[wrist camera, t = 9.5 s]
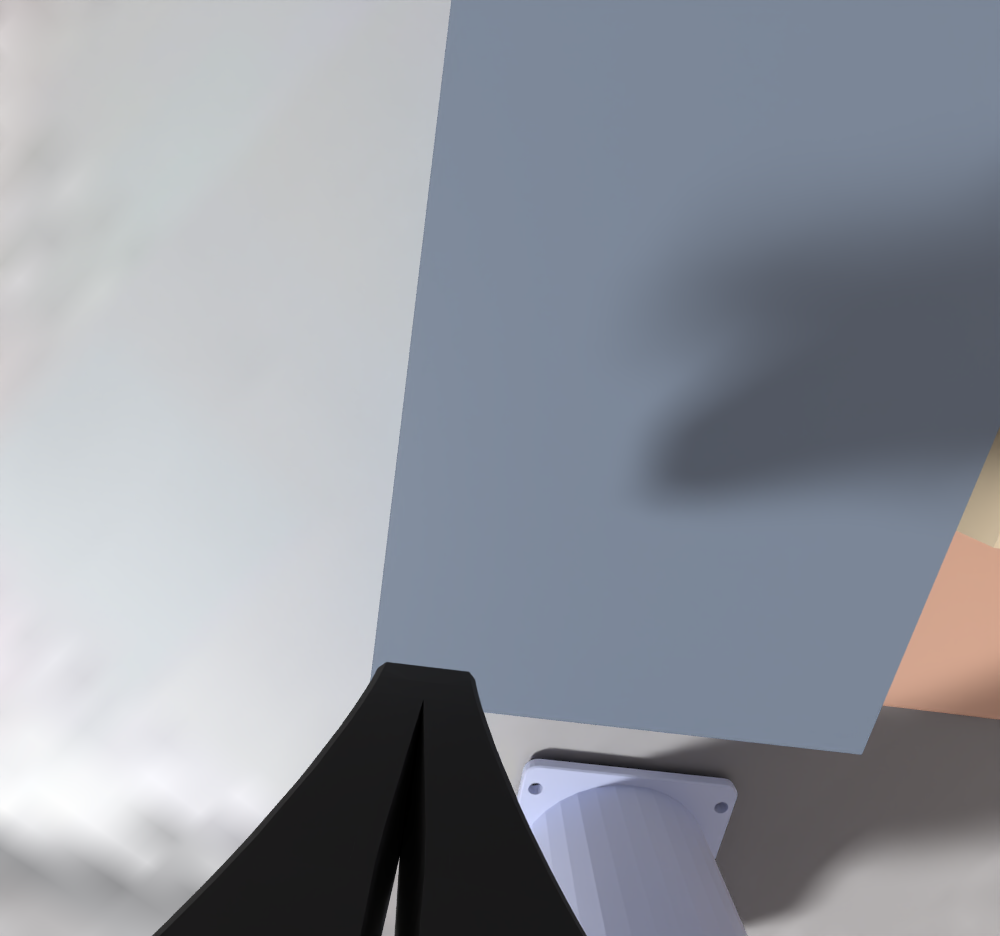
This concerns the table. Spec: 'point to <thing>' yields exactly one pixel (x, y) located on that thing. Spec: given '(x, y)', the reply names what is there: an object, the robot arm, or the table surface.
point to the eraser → (985, 502)
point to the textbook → (697, 357)
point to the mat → (956, 638)
